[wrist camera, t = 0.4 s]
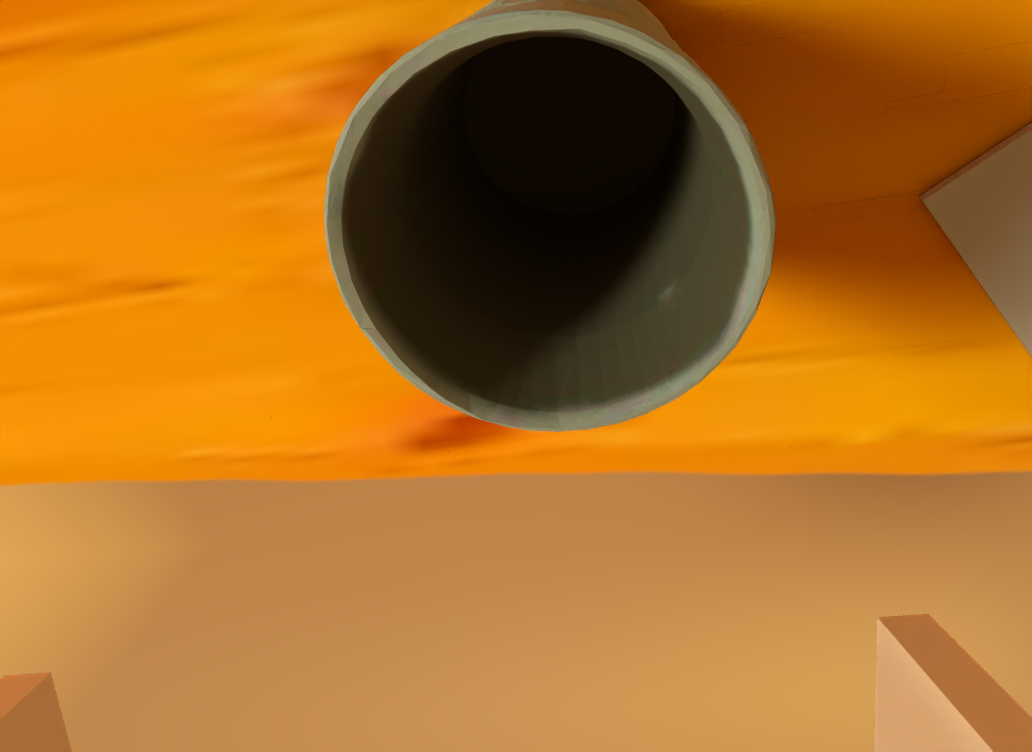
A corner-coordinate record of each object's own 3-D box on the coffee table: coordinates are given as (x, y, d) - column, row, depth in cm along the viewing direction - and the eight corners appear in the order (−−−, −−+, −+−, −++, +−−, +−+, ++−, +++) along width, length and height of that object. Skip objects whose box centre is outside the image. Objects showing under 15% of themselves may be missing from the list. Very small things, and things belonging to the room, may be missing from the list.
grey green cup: (464, -95, 22) (349, -63, 12) (766, 4, 23) (880, 106, 13) (410, 200, 28) (305, 376, 18) (650, 271, 29) (669, 477, 19)
